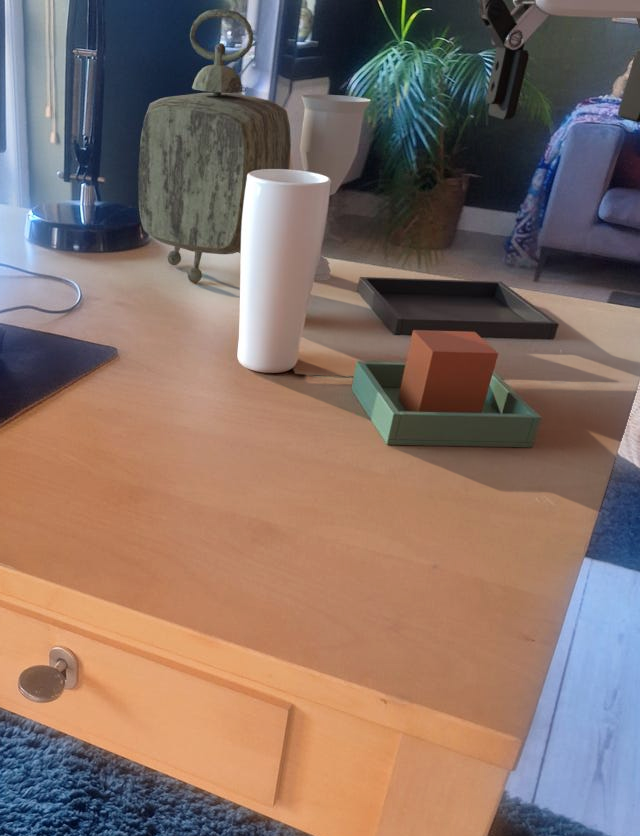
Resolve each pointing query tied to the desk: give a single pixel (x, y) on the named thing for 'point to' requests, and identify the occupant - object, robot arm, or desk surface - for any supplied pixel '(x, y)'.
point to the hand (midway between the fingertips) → (566, 118)
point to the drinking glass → (278, 263)
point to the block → (447, 372)
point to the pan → (455, 308)
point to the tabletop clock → (207, 156)
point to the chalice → (330, 142)
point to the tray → (443, 413)
